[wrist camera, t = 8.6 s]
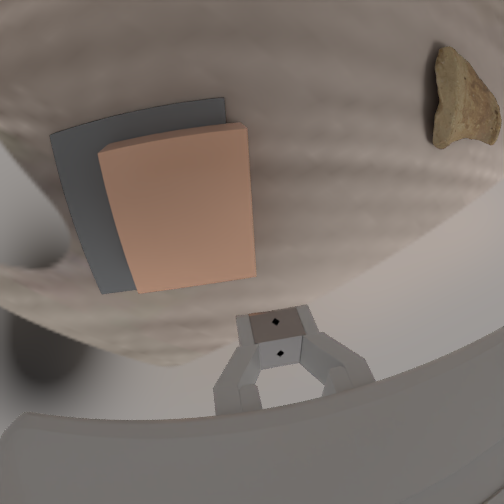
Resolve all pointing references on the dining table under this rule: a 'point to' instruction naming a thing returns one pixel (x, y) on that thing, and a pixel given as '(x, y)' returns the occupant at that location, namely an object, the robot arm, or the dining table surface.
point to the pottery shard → (463, 103)
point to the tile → (183, 205)
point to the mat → (92, 184)
